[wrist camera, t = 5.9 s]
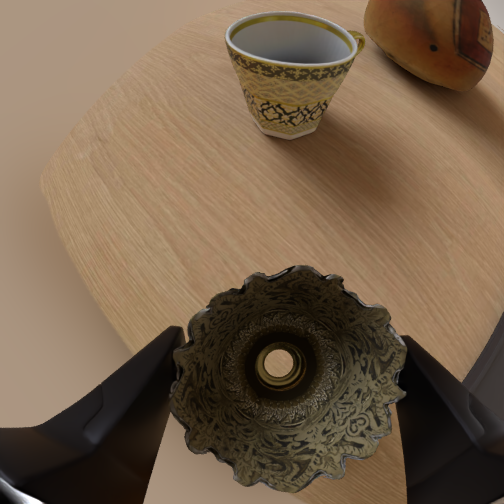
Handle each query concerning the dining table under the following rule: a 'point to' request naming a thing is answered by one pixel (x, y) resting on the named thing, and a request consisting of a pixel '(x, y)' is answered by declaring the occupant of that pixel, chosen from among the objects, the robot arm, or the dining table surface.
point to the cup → (288, 379)
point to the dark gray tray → (490, 373)
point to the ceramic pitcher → (434, 38)
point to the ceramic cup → (290, 68)
